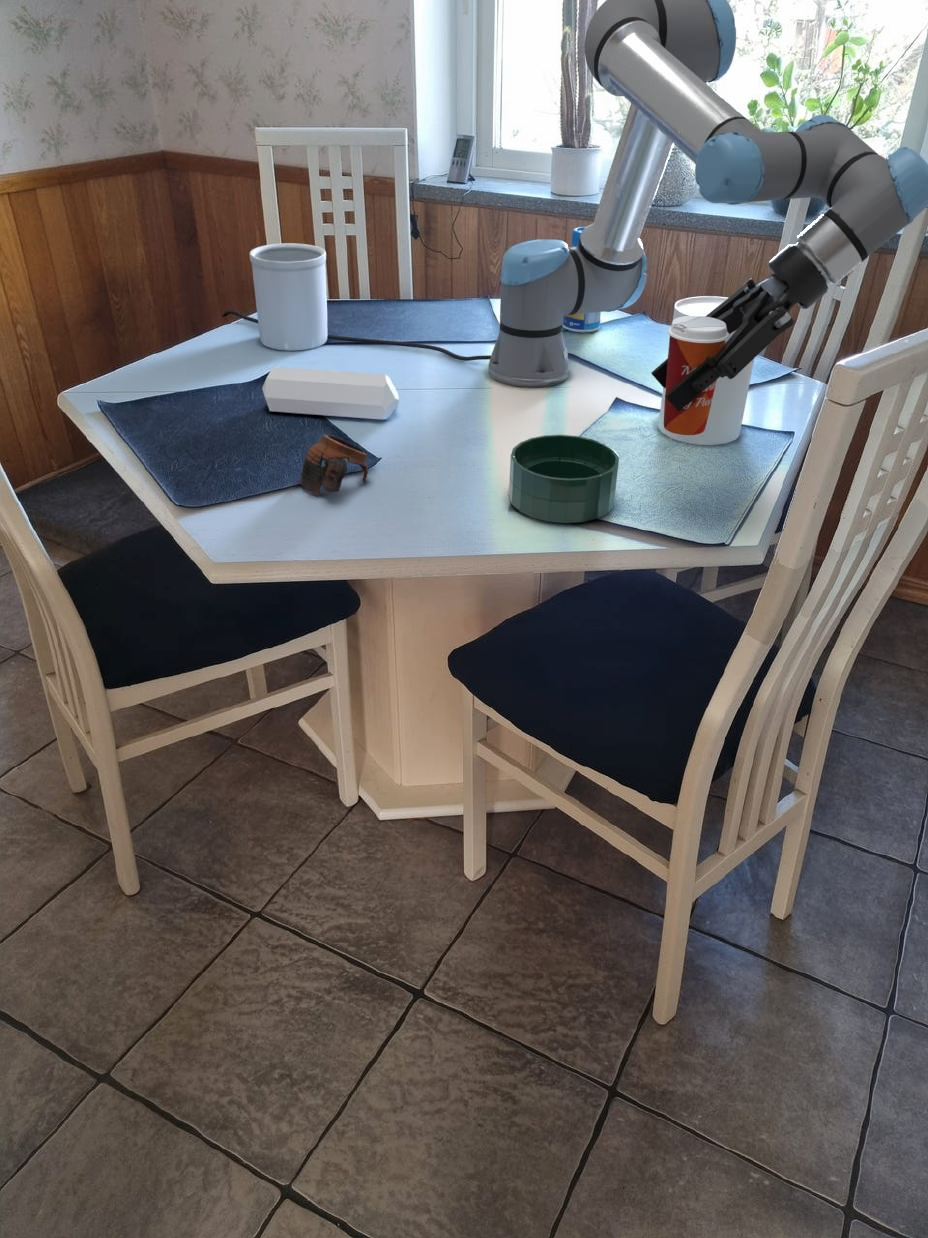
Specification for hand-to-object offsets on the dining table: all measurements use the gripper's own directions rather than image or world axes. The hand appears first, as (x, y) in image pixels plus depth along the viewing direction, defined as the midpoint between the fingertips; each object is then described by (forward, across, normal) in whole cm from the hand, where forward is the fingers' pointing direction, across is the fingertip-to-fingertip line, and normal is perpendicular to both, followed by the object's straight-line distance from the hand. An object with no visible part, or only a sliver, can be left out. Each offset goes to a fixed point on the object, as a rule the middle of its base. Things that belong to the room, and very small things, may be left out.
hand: (664, 391), depth 123 cm
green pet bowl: (+21, +3, -4) cm, 21 cm away
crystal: (+46, +37, +22) cm, 63 cm away
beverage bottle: (+11, +84, -14) cm, 86 cm away
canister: (+2, +29, -23) cm, 37 cm away
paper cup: (+1, 0, -6) cm, 6 cm away
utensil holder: (+53, +75, +29) cm, 97 cm away
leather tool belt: (+44, +8, +20) cm, 49 cm away
